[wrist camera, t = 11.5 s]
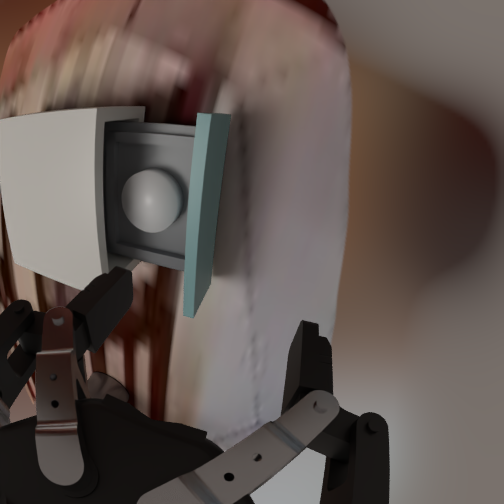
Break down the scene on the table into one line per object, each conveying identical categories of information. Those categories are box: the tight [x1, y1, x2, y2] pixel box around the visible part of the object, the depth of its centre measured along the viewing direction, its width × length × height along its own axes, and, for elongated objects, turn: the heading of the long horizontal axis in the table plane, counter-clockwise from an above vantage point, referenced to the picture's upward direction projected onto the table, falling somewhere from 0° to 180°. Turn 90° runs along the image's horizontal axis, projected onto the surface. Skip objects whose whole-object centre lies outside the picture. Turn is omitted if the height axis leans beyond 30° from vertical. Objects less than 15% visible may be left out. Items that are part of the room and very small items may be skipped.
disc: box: [121, 168, 183, 233], centre depth 26 cm, size 6×6×2 cm
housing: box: [0, 106, 145, 290], centre depth 26 cm, size 18×16×8 cm
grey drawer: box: [103, 113, 231, 318], centre depth 25 cm, size 18×16×6 cm
